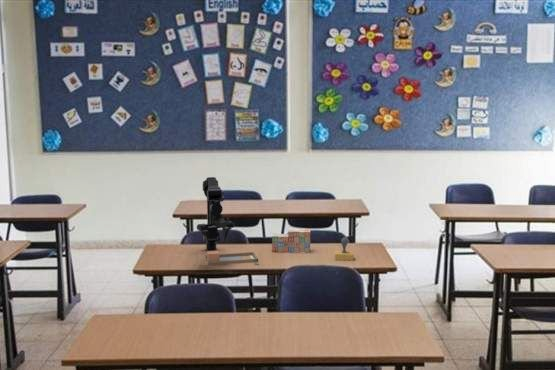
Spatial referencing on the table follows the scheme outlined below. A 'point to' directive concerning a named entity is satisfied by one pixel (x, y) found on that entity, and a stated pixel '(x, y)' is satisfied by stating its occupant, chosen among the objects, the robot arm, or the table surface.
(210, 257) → the terracotta block
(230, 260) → the box
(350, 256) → the rubber stamp
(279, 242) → the stack of blocks
